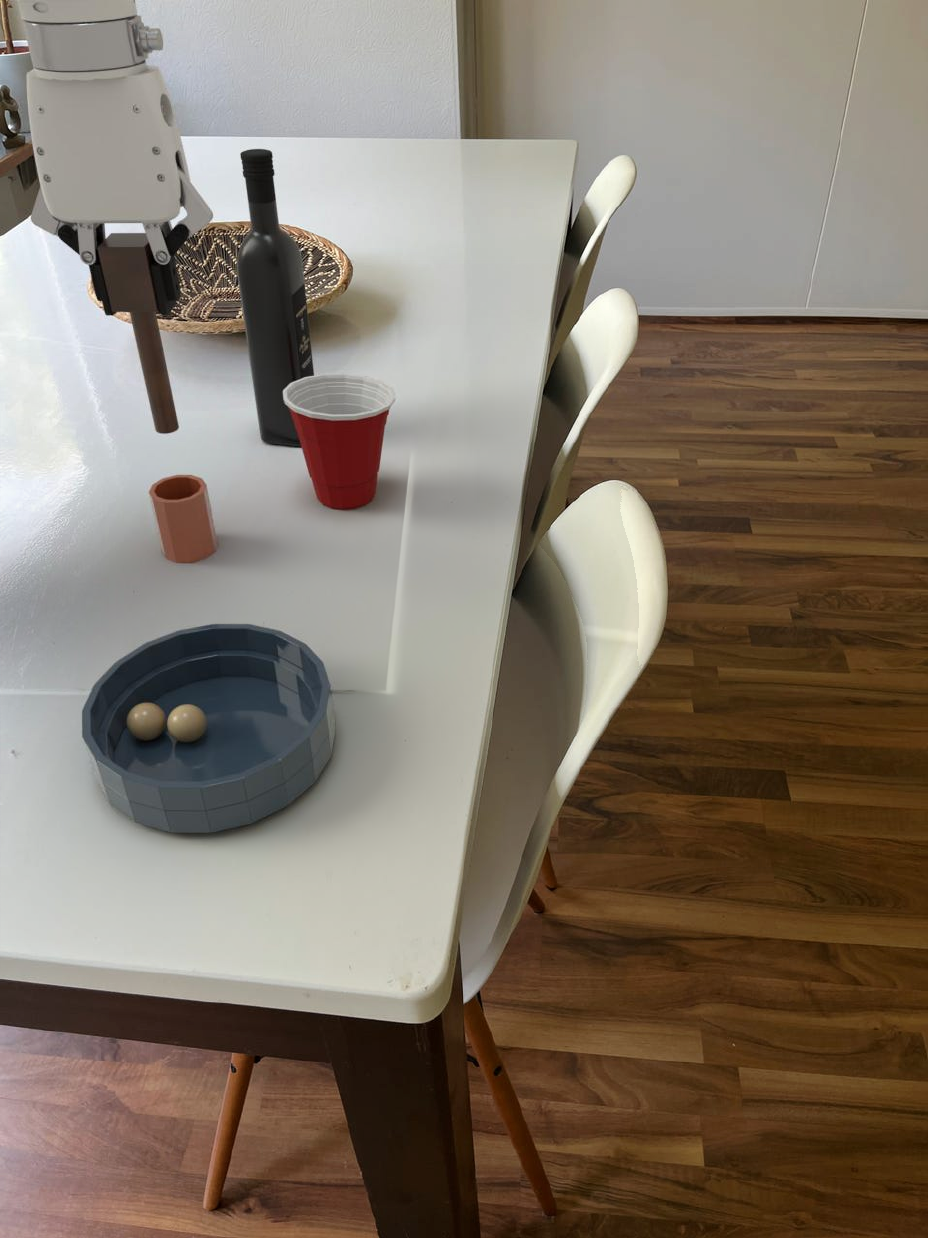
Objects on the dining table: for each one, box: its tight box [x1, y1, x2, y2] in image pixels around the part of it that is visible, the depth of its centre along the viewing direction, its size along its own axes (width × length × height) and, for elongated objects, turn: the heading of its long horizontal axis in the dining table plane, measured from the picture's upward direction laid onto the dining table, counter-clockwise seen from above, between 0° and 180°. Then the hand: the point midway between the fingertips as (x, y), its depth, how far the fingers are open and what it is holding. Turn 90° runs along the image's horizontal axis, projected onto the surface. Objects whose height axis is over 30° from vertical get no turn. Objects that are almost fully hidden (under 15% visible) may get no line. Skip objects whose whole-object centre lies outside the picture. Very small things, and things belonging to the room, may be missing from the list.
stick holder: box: [148, 474, 218, 564], centre depth 92 cm, size 5×5×7 cm
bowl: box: [81, 623, 336, 834], centre depth 72 cm, size 17×17×5 cm
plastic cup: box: [283, 373, 397, 511], centre depth 98 cm, size 11×11×12 cm
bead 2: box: [167, 704, 207, 743], centre depth 73 cm, size 3×3×3 cm
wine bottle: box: [236, 148, 315, 447], centre depth 104 cm, size 6×6×30 cm
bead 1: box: [126, 702, 166, 741], centre depth 73 cm, size 3×3×3 cm
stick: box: [98, 232, 180, 435], centre depth 81 cm, size 4×4×16 cm
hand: (141, 307), depth 79 cm, fingers closed on stick, 3 cm apart
